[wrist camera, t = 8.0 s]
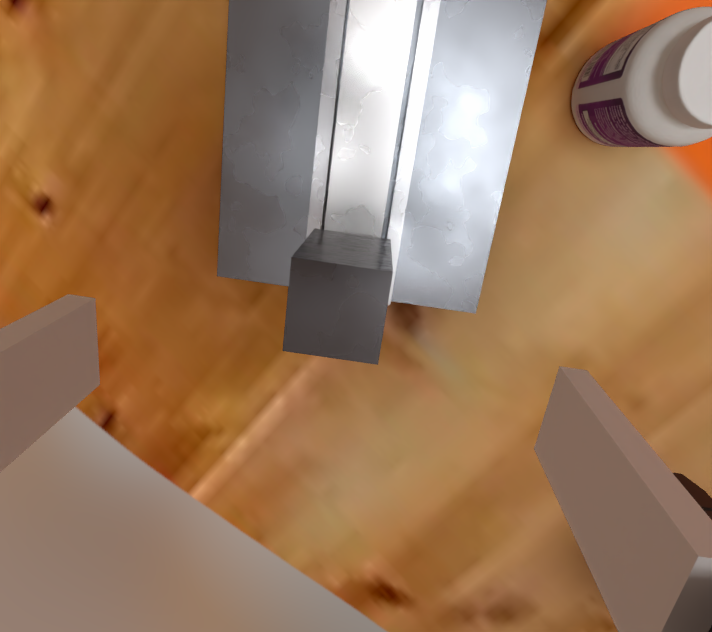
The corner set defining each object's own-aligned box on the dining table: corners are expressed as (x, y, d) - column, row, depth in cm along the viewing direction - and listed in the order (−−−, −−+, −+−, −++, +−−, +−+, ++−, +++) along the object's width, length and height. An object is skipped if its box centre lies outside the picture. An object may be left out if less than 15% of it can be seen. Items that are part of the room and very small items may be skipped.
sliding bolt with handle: (379, 295, 30) (377, 364, 21) (313, 285, 30) (282, 350, 21) (427, -10, 25) (454, -102, 15) (347, -21, 25) (326, -120, 15)
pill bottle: (669, 135, 28) (808, 132, 19) (572, 155, 28) (660, 161, 19) (669, 28, 26) (822, -33, 17) (565, 51, 27) (659, 5, 18)
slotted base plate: (472, 307, 32) (497, 354, 25) (223, 271, 32) (177, 308, 25) (603, -279, 22) (705, -473, 15) (251, -328, 23) (191, -544, 15)
